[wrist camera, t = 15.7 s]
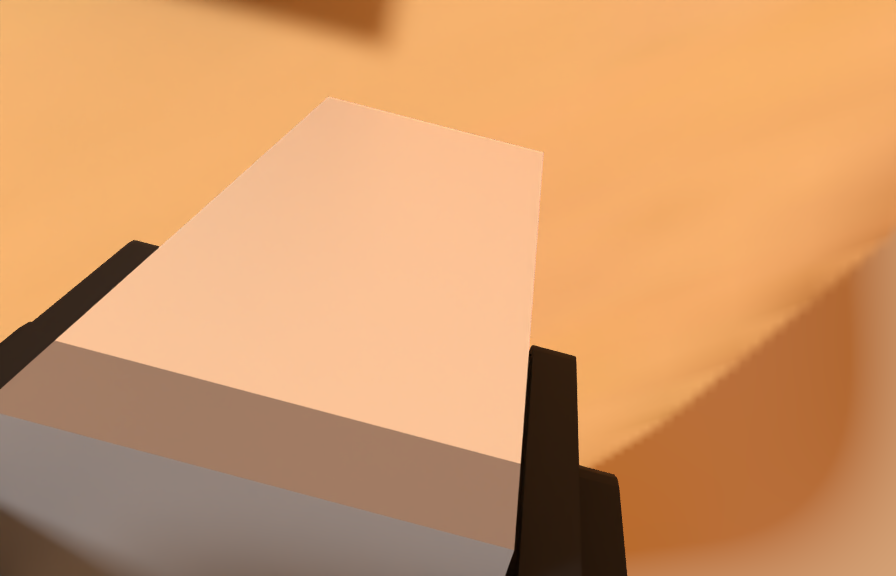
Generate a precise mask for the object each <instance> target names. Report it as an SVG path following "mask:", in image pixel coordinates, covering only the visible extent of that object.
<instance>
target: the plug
mask: <svg viewBox="0 0 896 576" xmlns="http://www.w3.org/2000/svg"><path fill="white" fill-rule="evenodd" d="M543 155H544V152H540V151H536V150H533V149H529V148H525V147H521V146H517V145H513V144H510V143H506V142H502V141H498V140H494V139H490V138H486V137H483V136H479V135H475V134H471V133H467V132H463V131H460V130H456V129H452V128H448V127H444V126H440V125H436V124H433V123H429V122H425V121H421V120H417V119H413V118H410V117H406V116H402V115H398V114H394V113H390V112H386V111H383V110H379V109H375V108H371V107H367V106H363V105H360V104H356V103H352V102H348V101H344V100H340V99H336V98H333V97H329V96H328V97H327V98H326V99H325V100H324V101H323V102H322V103H321V104H319V105H318V106H317V107H316V108H315V109H314V110H313V111H312V112H310V113H309V114H308V115H307V116H306V117H305V118H304V119H303V120H301V121H300V122H299V123H298V124H297V125H296V126H295V127H294V128H292V129H291V130H290V131H289V132H288V133H287V134H286V135H285V136H284V137H282V138H281V139H280V140H279V141H278V142H277V143H276V144H275V145H273V146H272V147H271V148H270V149H269V150H268V151H267V152H266V153H264V154H263V155H262V156H261V157H260V158H259V159H258V160H257V161H256V162H254V163H253V164H252V165H251V166H250V167H249V168H248V169H247V170H245V171H244V172H243V173H242V174H241V175H240V176H239V177H238V178H236V179H235V180H234V181H233V182H232V183H231V184H230V185H229V186H228V187H226V188H225V189H224V190H223V191H222V192H221V193H220V194H219V195H217V196H216V197H215V198H214V199H213V200H212V201H211V202H210V203H208V204H207V205H206V206H205V207H204V208H203V209H202V210H201V211H199V212H198V213H197V214H196V215H195V216H194V217H193V218H192V219H191V220H189V221H188V222H187V223H186V224H185V225H184V226H183V227H182V228H180V229H179V230H178V231H177V232H176V233H175V234H174V235H173V236H171V237H170V238H169V239H168V240H167V241H166V242H165V243H164V244H163V245H161V246H160V247H159V248H158V249H157V250H156V251H155V252H154V253H152V254H151V255H150V256H149V257H148V258H147V259H146V260H145V261H143V262H142V263H141V264H140V265H139V266H138V267H137V268H136V269H135V270H133V271H132V272H131V273H130V274H129V275H128V276H127V277H126V278H124V279H123V280H122V281H121V282H120V283H119V284H118V285H117V286H115V287H114V288H113V289H112V290H111V291H110V292H109V293H108V294H106V295H105V296H104V297H103V298H102V299H101V300H100V301H99V302H98V303H96V304H95V305H94V306H93V307H92V308H91V309H90V310H89V311H87V312H86V313H85V314H84V315H83V316H82V317H81V318H80V319H78V320H77V321H76V322H75V323H74V324H73V325H72V326H71V327H70V328H68V329H67V330H66V331H65V332H64V333H63V334H62V335H61V336H59V337H58V338H57V339H56V340H55V341H54V342H53V343H52V344H50V345H49V346H48V347H47V348H46V349H45V350H44V351H43V352H41V353H40V354H39V355H38V356H37V357H36V358H35V359H34V360H33V361H31V362H30V363H29V364H28V365H27V366H26V367H25V368H24V369H22V370H21V371H20V372H19V373H18V374H17V375H16V376H15V377H13V378H12V379H11V380H10V381H9V382H8V383H7V384H6V385H5V386H3V387H2V388H1V389H0V576H505V574H506V572H507V569H508V566H509V563H510V560H511V558H512V555H513V552H514V545H515V532H516V518H517V505H518V491H519V478H520V464H521V451H522V437H523V424H524V411H525V397H526V384H527V370H528V357H529V343H530V330H531V316H532V303H533V289H534V276H535V262H536V249H537V235H538V222H539V208H540V195H541V181H542V168H543Z"/></svg>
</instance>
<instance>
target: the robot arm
mask: <svg viewBox="0 0 896 576" xmlns="http://www.w3.org/2000/svg"><path fill="white" fill-rule="evenodd" d="M158 248H159V246H155V245H152V244H148V243H144V242H140V241H136V240H133V241H131V242H129V243H128V244H127V245H125V246H124V247H123V248H122V249H121V250H119V251H118V252H117V253H116V254H114V255H113V256H112V257H111V258H110V259H108V260H107V261H106V262H105V263H104V264H102V265H101V266H100V267H99V268H97V269H96V270H95V271H94V272H93V273H91V274H90V275H89V276H88V277H86V278H85V279H84V280H83V281H82V282H80V283H79V284H78V285H77V286H75V287H74V288H73V289H72V290H71V291H69V292H68V293H67V294H66V295H64V296H63V297H62V298H61V299H60V300H58V301H57V302H56V303H55V304H53V305H52V306H51V307H50V308H49V309H47V310H46V311H45V312H44V313H42V314H41V315H40V316H39V317H38V318H36V319H35V320H34V321H33V322H28V323H27V324H25V325H23V326H22V327H20V328H18V329H17V330H16V331H15V332H13V333H12V334H11V335H10V336H9V337H7V338H6V339H5V340H4V341H2V342H1V343H0V389H1V388H2V387H3V386H5V385H6V384H7V383H8V382H9V381H10V380H11V379H12V378H13V377H15V376H16V375H17V374H18V373H19V372H20V371H21V370H22V369H24V368H25V367H26V366H27V365H28V364H29V363H30V362H31V361H33V360H34V359H35V358H36V357H37V356H38V355H39V354H40V353H41V352H43V351H44V350H45V349H46V348H47V347H48V346H49V345H50V344H52V343H53V342H54V341H55V340H56V339H57V338H58V337H59V336H61V335H62V334H63V333H64V332H65V331H66V330H67V329H68V328H70V327H71V326H72V325H73V324H74V323H75V322H76V321H77V320H78V319H80V318H81V317H82V316H83V315H84V314H85V313H86V312H87V311H89V310H90V309H91V308H92V307H93V306H94V305H95V304H96V303H98V302H99V301H100V300H101V299H102V298H103V297H104V296H105V295H106V294H108V293H109V292H110V291H111V290H112V289H113V288H114V287H115V286H117V285H118V284H119V283H120V282H121V281H122V280H123V279H124V278H126V277H127V276H128V275H129V274H130V273H131V272H132V271H133V270H135V269H136V268H137V267H138V266H139V265H140V264H141V263H142V262H143V261H145V260H146V259H147V258H148V257H149V256H150V255H151V254H152V253H154V252H155V251H156V250H157V249H158ZM505 576H627V569H626V558H625V547H624V536H623V525H622V514H621V503H620V492H619V485H618V480H617V477H615V475H614V474H610V473H606V472H602V471H599V470H595V469H591V468H587V467H584V466H580V465H579V449H578V409H577V369H576V357H575V356H572V355H568V354H565V353H561V352H557V351H553V350H549V349H546V348H542V347H538V346H534V345H532V346H531V348H530V350H529V357H528V370H527V384H526V397H525V411H524V424H523V437H522V451H521V464H520V478H519V491H518V505H517V518H516V532H515V545H514V552H513V555H512V558H511V560H510V563H509V566H508V569H507V572H506V574H505Z"/></svg>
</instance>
